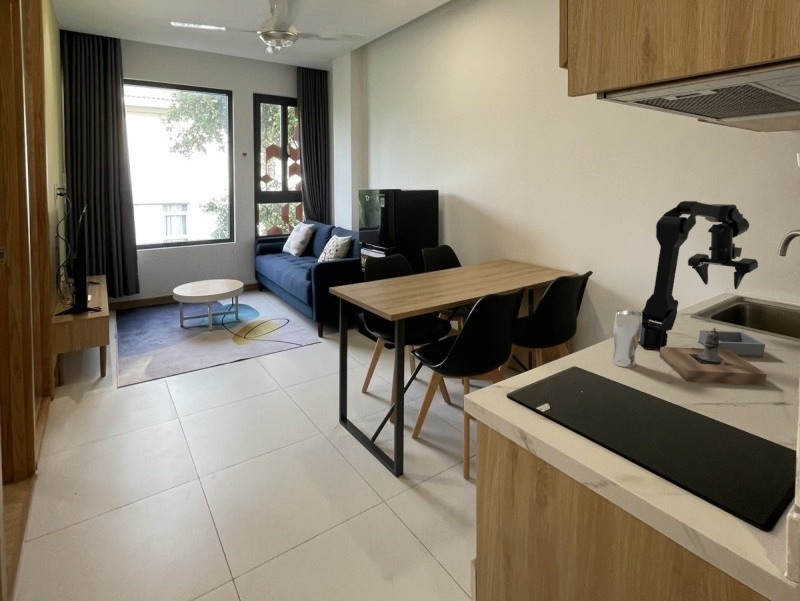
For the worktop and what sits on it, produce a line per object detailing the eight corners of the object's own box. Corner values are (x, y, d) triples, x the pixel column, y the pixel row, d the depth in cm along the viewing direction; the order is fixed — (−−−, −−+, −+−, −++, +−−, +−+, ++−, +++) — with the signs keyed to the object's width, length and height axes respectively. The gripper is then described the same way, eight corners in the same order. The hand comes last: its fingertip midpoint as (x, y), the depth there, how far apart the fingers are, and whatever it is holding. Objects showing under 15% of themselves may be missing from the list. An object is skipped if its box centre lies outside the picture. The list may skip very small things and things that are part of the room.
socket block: (686, 381, 117) (688, 370, 116) (659, 356, 134) (660, 346, 133) (765, 385, 114) (767, 374, 113) (726, 359, 131) (728, 349, 130)
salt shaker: (698, 372, 122) (705, 330, 119) (692, 364, 127) (698, 323, 125) (724, 375, 120) (731, 331, 117) (716, 367, 126) (723, 325, 123)
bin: (717, 355, 134) (719, 342, 133) (698, 342, 146) (700, 330, 145) (762, 357, 132) (765, 344, 131) (739, 343, 144) (741, 331, 143)
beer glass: (631, 370, 124) (637, 317, 121) (605, 363, 129) (611, 312, 126) (641, 363, 129) (647, 312, 125) (615, 357, 134) (621, 307, 130)
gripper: (767, 237, 144) (765, 282, 150) (704, 233, 160) (704, 274, 165) (749, 248, 140) (747, 294, 145) (686, 242, 155) (687, 285, 161)
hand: (720, 286), depth 154 cm, fingers open, 9 cm apart
